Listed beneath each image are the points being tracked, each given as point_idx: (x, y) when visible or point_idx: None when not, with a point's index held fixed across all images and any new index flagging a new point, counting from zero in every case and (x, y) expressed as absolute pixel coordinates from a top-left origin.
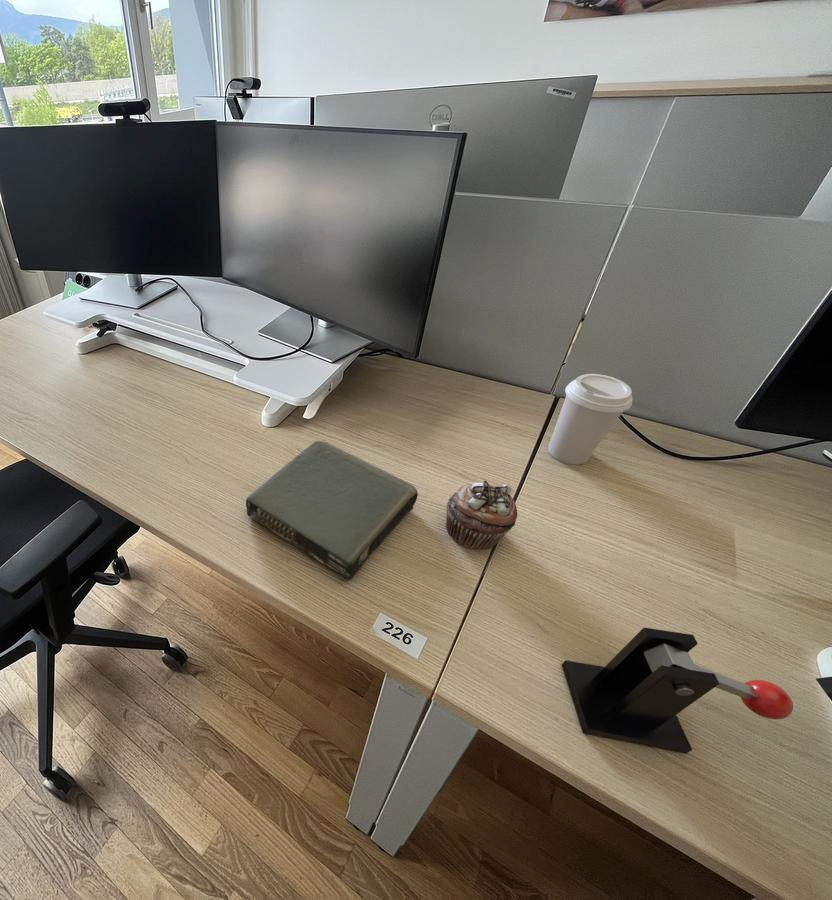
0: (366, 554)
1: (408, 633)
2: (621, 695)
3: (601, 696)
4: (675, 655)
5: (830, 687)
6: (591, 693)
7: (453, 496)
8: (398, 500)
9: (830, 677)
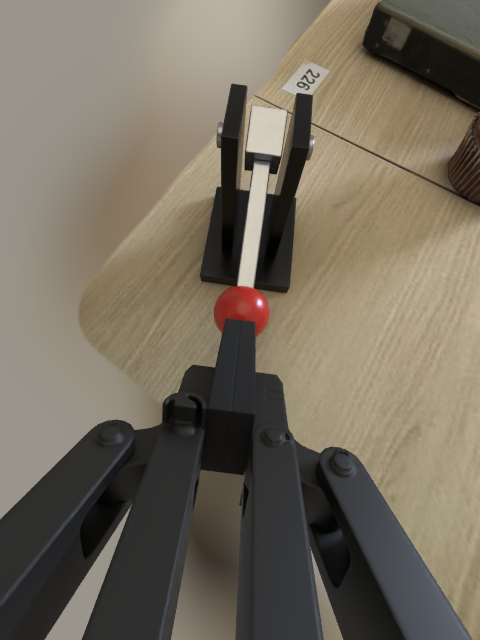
0: (400, 43)
1: (309, 87)
2: None
3: None
4: (269, 121)
5: (235, 324)
6: None
7: None
8: None
9: (254, 332)
